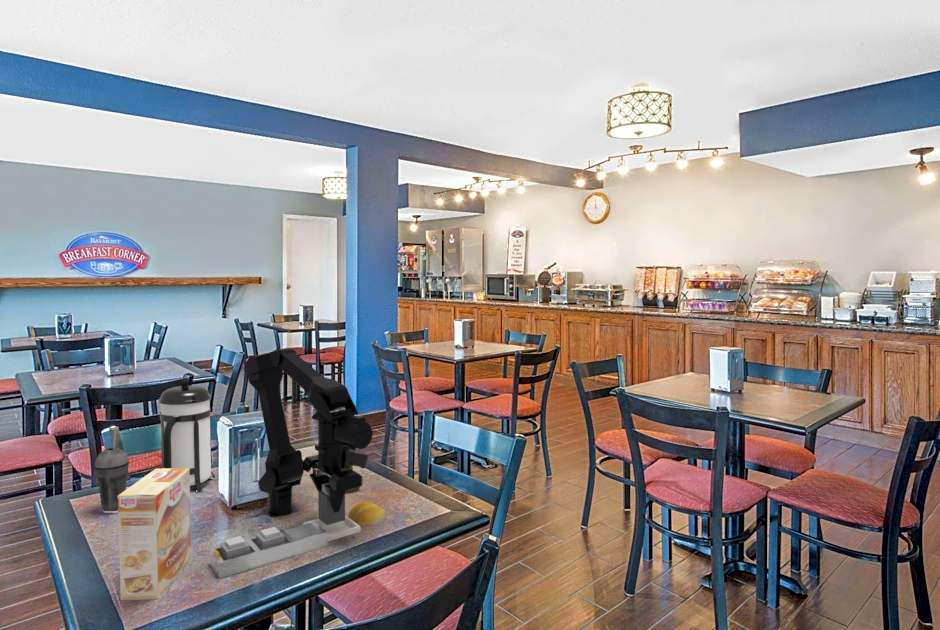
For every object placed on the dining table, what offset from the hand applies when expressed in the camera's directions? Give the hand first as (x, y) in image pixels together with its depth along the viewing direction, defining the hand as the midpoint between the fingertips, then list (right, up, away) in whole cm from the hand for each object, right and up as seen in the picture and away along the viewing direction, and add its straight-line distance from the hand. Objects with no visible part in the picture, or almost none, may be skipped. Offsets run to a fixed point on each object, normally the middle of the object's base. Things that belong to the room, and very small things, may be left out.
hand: (331, 508), depth 131 cm
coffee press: (-46, -4, +27) cm, 54 cm away
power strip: (-10, -6, -11) cm, 16 cm away
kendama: (-5, -4, +31) cm, 32 cm away
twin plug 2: (-10, -6, -11) cm, 16 cm away
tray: (0, -6, 0) cm, 6 cm away
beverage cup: (-57, -5, +12) cm, 58 cm away
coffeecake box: (-28, -7, -21) cm, 35 cm away
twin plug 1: (-15, -6, -16) cm, 23 cm away
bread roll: (+7, -6, +7) cm, 11 cm away
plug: (0, -3, 0) cm, 2 cm away
